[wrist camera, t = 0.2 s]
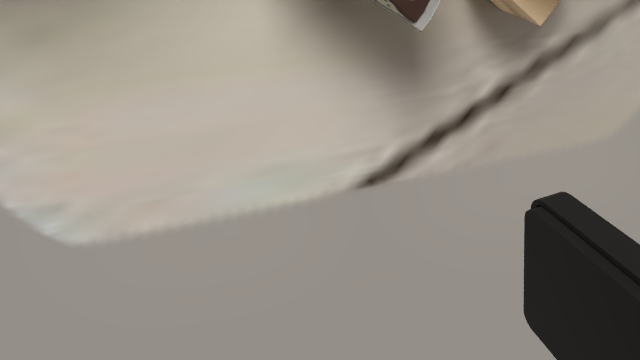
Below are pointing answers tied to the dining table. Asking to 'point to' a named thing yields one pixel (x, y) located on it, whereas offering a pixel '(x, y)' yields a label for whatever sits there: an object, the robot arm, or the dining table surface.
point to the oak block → (528, 9)
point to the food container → (411, 10)
